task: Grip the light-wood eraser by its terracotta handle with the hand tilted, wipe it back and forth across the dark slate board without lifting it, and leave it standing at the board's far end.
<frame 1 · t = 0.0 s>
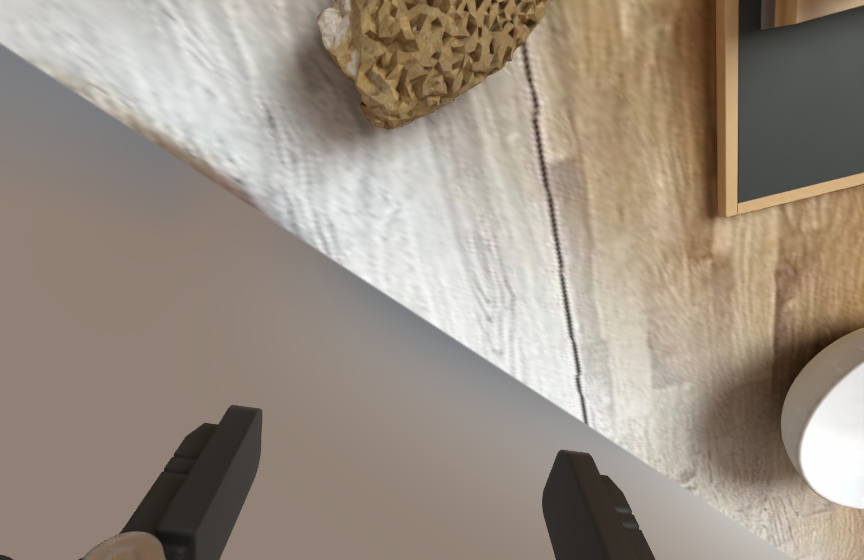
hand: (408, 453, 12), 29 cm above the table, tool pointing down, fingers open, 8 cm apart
board: (827, 59, 35), on the table
serving bowl: (851, 381, 48), on the table
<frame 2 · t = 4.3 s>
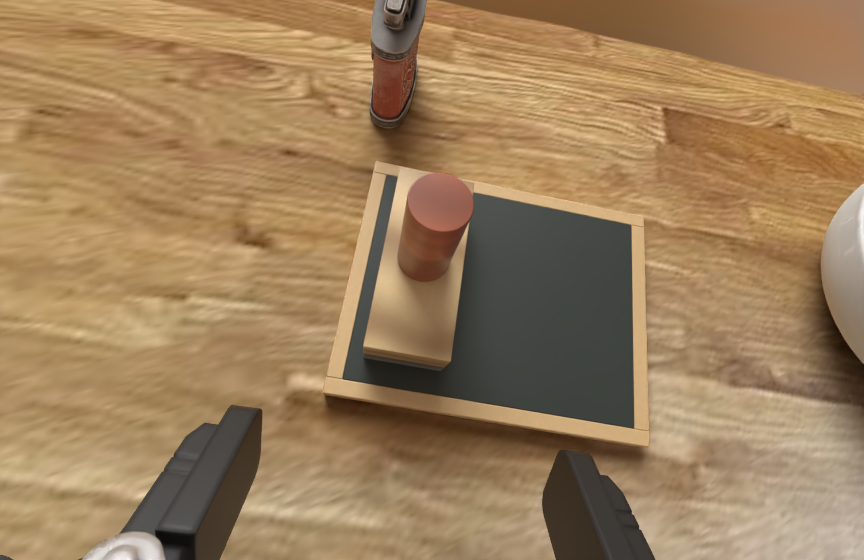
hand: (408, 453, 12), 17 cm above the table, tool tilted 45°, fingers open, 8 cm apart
board: (498, 298, 32), on the table
eraser: (417, 277, 31), point 1 cm above the table, touching board
lighter: (393, 90, 38), on the table
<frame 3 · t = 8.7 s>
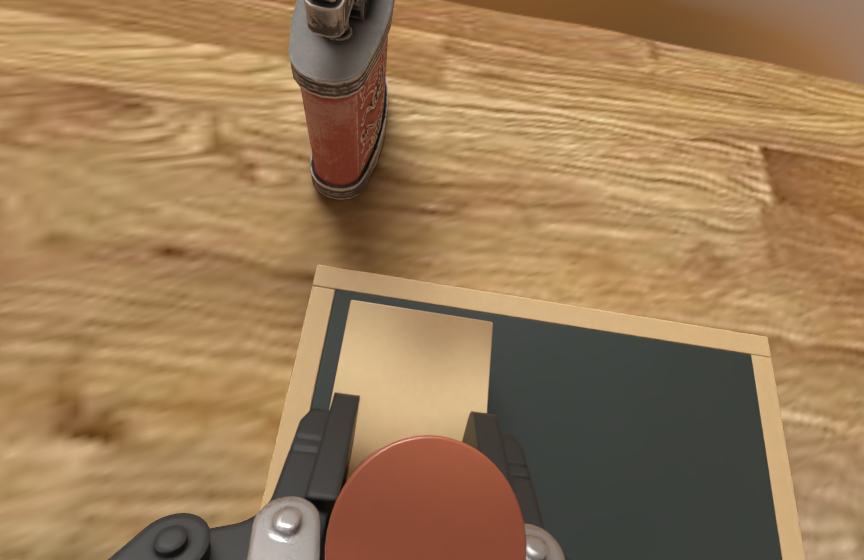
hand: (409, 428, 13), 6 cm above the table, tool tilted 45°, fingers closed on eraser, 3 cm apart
board: (537, 509, 18), on the table
eraser: (391, 493, 17), point 1 cm above the table, touching board, gripper
lighter: (351, 135, 24), on the table
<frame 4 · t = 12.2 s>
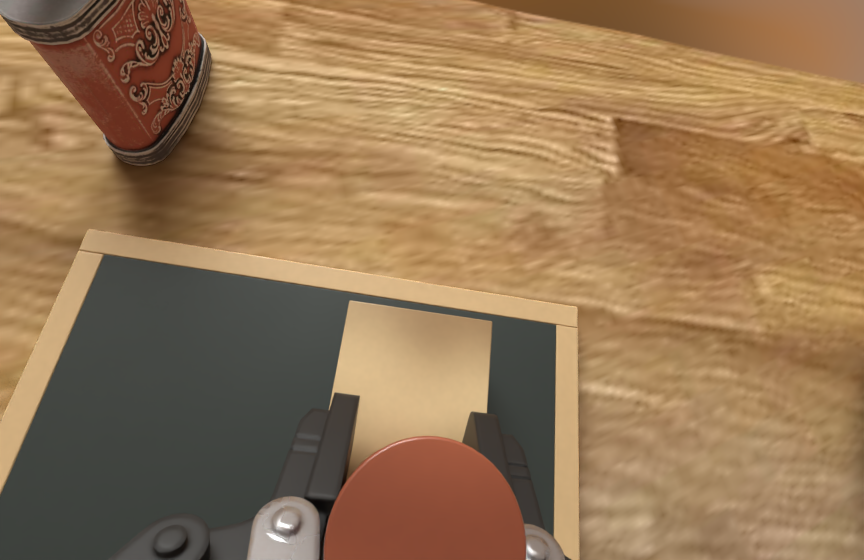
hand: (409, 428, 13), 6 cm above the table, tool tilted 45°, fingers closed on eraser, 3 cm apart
board: (304, 483, 17), on the table
eraser: (391, 494, 17), point 1 cm above the table, touching gripper
lighter: (166, 102, 23), on the table
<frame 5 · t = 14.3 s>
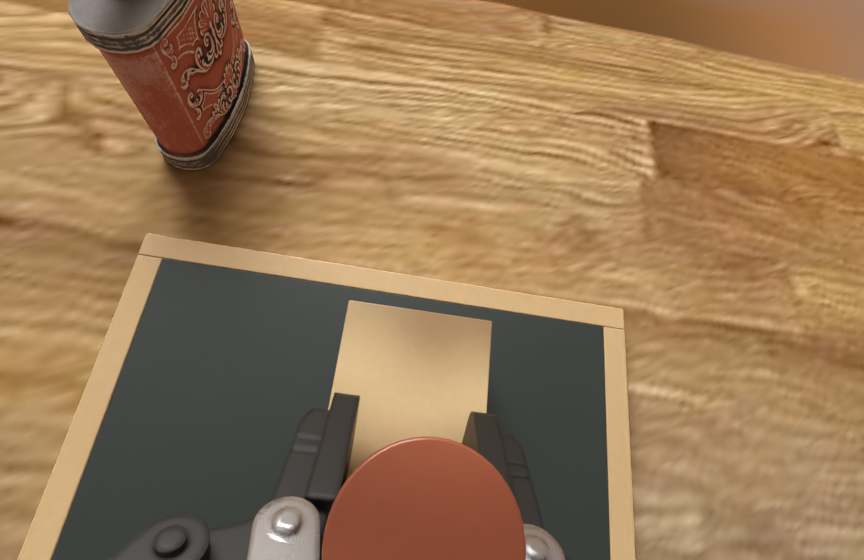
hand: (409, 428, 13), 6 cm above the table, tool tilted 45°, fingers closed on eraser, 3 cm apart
board: (363, 482, 18), on the table
eraser: (391, 494, 17), point 1 cm above the table, touching gripper
lighter: (212, 106, 23), on the table
when the fingers open (6 cm above the table, at t = 15.7 s): eraser stays where it is, resting on board.
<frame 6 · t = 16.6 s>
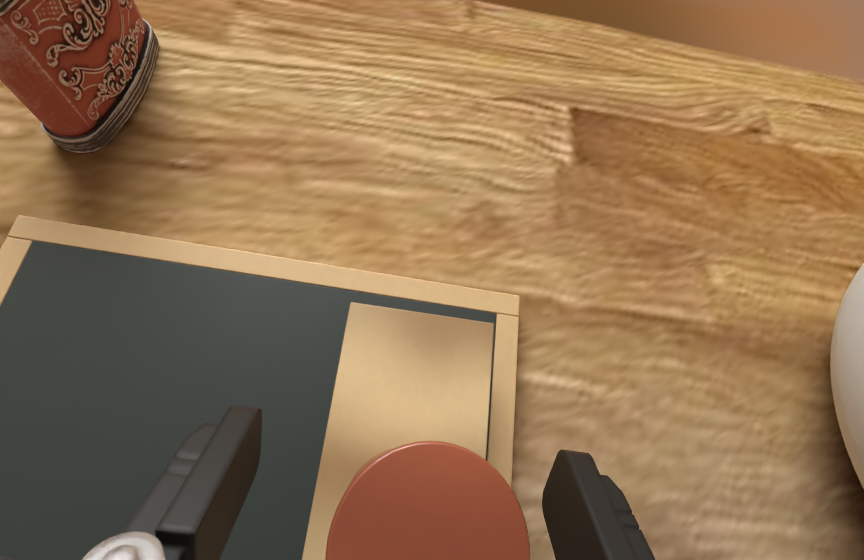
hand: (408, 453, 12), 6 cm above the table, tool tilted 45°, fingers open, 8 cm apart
board: (231, 472, 17), on the table
eraser: (392, 497, 16), point 1 cm above the table, touching board
lighter: (110, 89, 23), on the table
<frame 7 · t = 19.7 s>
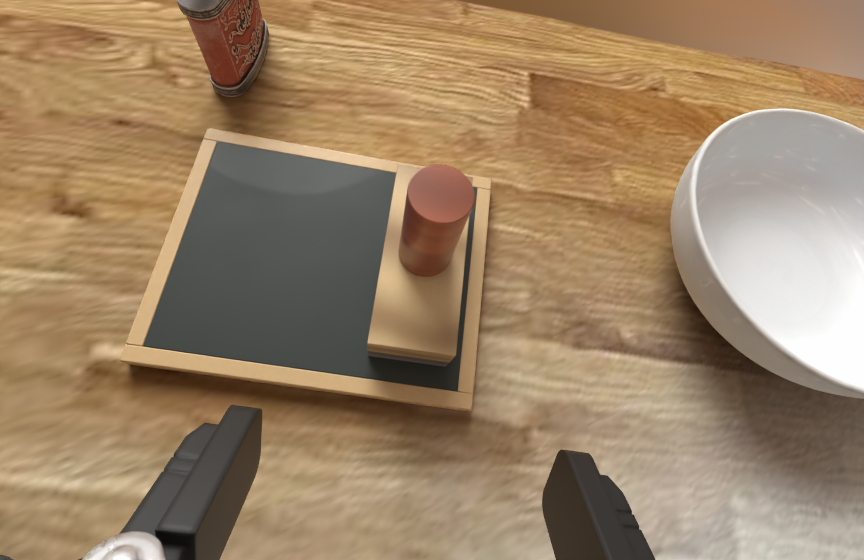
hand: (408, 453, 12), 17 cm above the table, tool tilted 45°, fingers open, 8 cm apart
board: (330, 264, 31), on the table
serving bowl: (757, 273, 36), on the table
eraser: (418, 273, 31), point 1 cm above the table, touching board
lighter: (242, 60, 37), on the table
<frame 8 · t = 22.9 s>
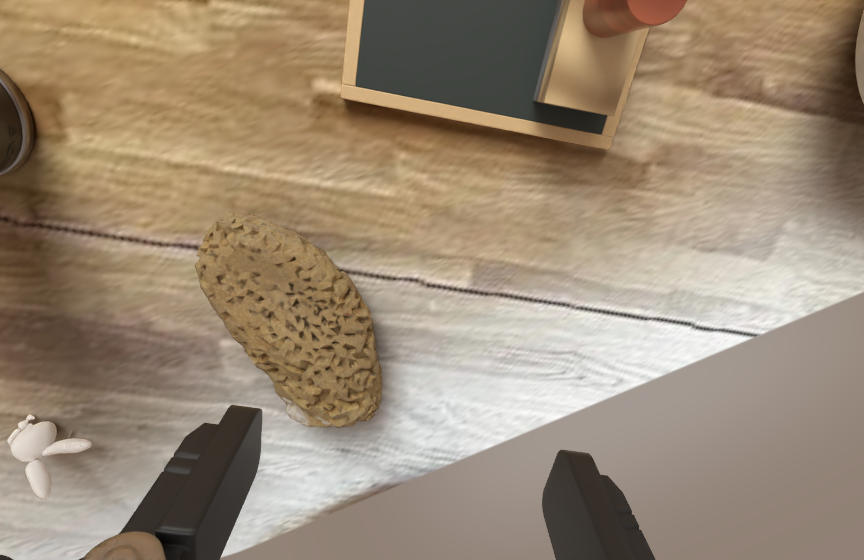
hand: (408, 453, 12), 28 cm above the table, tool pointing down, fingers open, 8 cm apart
rabbit figurine: (68, 433, 47), on the table
eraser: (589, 17, 32), point 1 cm above the table, touching board
sponge: (305, 306, 42), on the table
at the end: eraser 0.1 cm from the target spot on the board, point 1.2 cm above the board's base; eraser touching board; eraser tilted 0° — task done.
